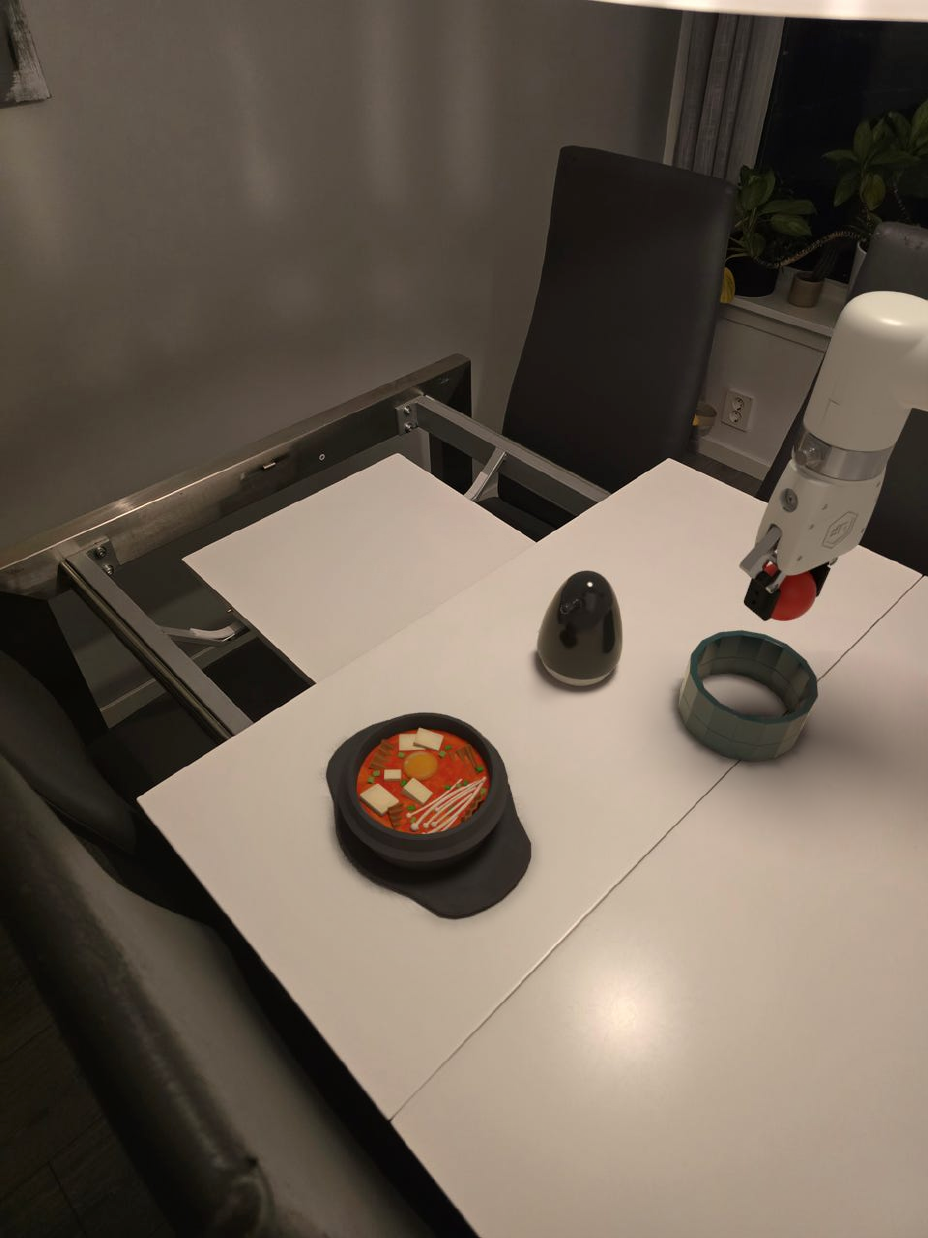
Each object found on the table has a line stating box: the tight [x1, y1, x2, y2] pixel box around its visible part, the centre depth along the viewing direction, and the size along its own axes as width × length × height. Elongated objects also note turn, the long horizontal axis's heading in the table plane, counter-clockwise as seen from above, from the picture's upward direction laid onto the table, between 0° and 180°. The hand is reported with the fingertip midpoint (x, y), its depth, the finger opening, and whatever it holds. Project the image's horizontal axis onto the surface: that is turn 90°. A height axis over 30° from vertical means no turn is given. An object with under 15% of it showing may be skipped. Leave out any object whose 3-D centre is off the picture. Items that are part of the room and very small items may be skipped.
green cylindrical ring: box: [677, 629, 819, 762], centre depth 89 cm, size 14×14×8 cm
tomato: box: [764, 562, 817, 622], centre depth 78 cm, size 6×6×7 cm
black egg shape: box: [536, 569, 624, 687], centre depth 92 cm, size 10×10×15 cm
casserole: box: [325, 711, 532, 917], centre depth 80 cm, size 25×19×8 cm
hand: (780, 599), depth 79 cm, fingers closed on tomato, 6 cm apart
